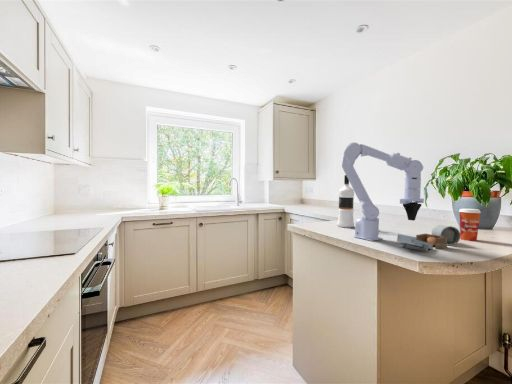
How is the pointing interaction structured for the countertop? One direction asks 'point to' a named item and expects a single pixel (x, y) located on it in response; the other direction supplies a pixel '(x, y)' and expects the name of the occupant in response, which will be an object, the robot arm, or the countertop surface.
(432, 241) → the ball
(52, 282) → the countertop surface
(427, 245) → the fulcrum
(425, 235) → the pocket
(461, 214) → the paper cup
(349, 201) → the vodka
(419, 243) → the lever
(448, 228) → the ceramic mug
